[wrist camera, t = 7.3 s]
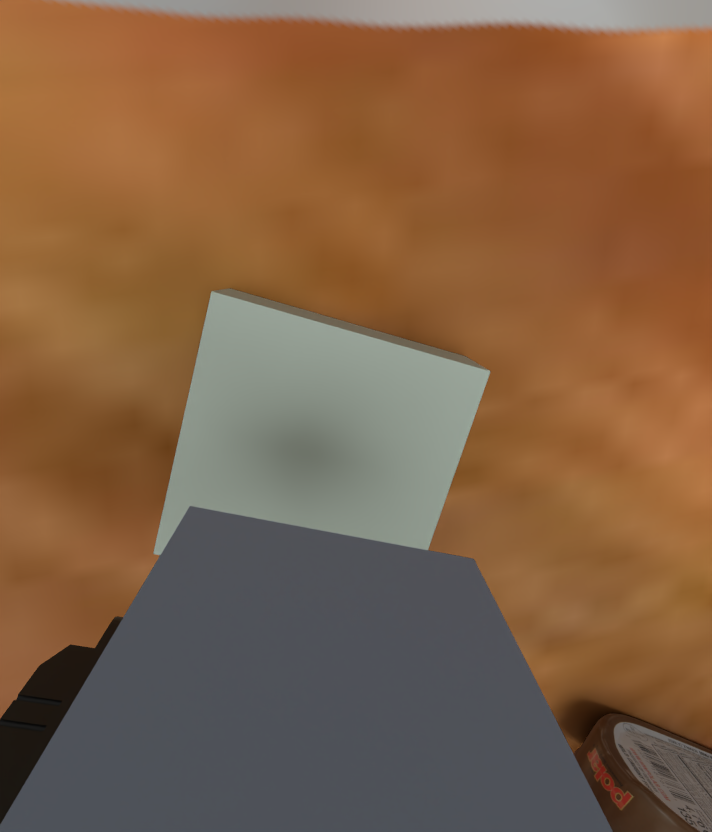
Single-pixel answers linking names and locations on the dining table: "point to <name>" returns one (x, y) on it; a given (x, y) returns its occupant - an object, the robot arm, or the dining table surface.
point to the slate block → (307, 699)
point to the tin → (647, 777)
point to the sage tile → (319, 424)
